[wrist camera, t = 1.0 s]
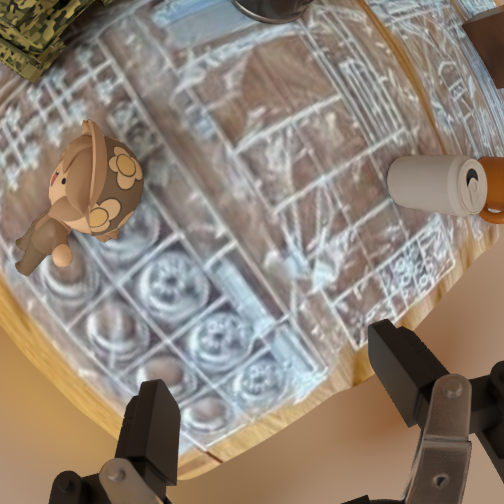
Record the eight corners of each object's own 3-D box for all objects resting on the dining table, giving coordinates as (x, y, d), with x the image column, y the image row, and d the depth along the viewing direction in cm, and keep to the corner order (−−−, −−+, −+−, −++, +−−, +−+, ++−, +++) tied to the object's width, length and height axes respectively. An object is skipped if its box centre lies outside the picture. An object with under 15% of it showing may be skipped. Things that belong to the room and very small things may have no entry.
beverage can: (412, 152, 34) (483, 149, 22) (422, 198, 36) (492, 208, 24) (377, 163, 33) (452, 161, 22) (389, 213, 35) (462, 228, 23)
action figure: (-11, 199, 21) (97, 96, 21) (56, 248, 30) (153, 169, 31) (-21, 277, 16) (111, 145, 16) (68, 320, 25) (186, 231, 26)
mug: (458, 188, 37) (504, 193, 29) (485, 146, 37) (526, 147, 29) (475, 231, 40) (516, 242, 31) (500, 188, 40) (538, 193, 32)
